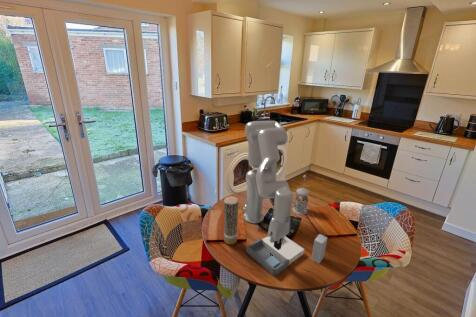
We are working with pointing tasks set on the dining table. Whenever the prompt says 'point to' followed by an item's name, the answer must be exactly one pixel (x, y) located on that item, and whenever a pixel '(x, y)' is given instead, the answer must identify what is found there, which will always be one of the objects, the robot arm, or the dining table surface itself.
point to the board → (284, 249)
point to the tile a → (273, 261)
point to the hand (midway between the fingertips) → (277, 247)
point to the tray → (265, 257)
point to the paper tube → (230, 219)
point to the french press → (298, 207)
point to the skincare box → (319, 248)
